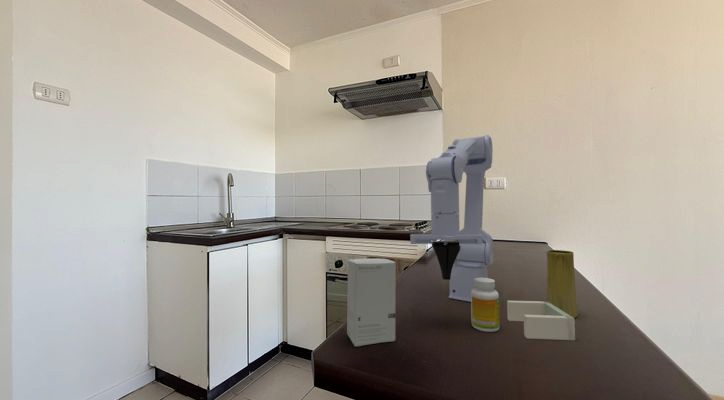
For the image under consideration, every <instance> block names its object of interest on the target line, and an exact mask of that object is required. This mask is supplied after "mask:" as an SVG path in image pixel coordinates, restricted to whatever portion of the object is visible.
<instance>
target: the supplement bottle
mask: <svg viewBox="0 0 724 400" xmlns="http://www.w3.org/2000/svg"><path fill="white" fill-rule="evenodd" d="M474 286H475V287H476V288H474V289H473V290H472V291H471V302H470V310H471V311H470V312H471V314H470V316H471V319H470V320H471V326H472V327H473V328H475V330H478V331H481V332H487V333H488V332H489V333H491V332H492V333H493V332H497V331H499V330H500V327H501V326H500V325H501V321H500V295H499V292H498V291H497V290H496V289H495V288H496V280H495V279H493V278H489V277H487V278H475V279H474Z"/></svg>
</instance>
